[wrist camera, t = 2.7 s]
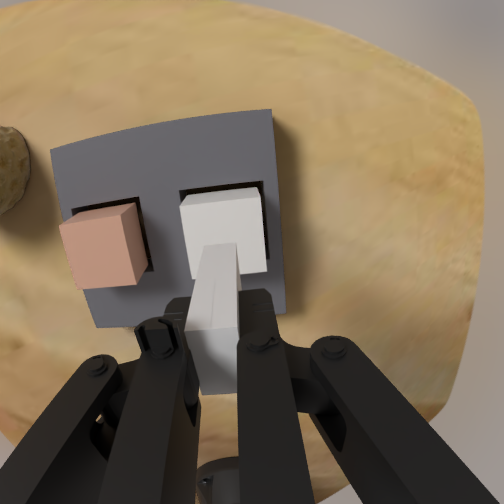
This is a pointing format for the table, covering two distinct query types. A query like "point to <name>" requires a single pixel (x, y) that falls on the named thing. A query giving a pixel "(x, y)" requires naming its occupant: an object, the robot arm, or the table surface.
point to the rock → (12, 167)
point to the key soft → (225, 226)
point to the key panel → (171, 199)
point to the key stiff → (105, 247)
